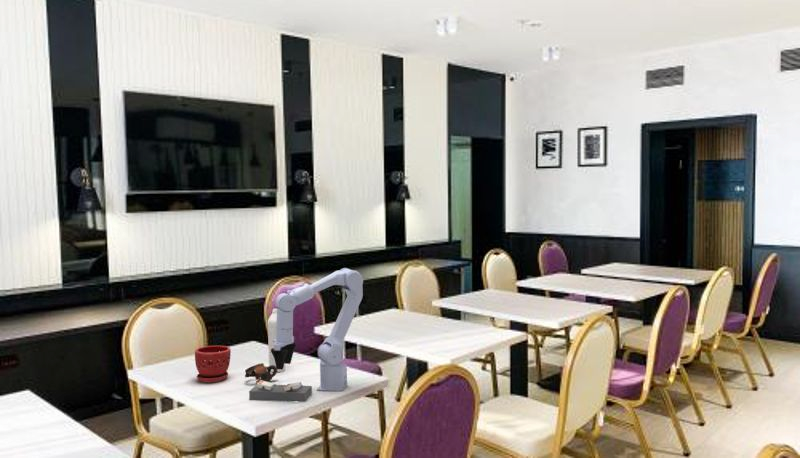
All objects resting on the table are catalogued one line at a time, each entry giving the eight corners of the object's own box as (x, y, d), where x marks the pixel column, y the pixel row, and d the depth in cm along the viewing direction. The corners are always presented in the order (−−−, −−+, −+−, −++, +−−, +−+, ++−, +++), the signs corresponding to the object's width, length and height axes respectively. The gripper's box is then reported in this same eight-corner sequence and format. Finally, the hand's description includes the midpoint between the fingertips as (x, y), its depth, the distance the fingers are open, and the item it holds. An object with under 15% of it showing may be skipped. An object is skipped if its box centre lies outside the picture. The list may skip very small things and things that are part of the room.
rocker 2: (301, 385, 218) (300, 381, 218) (298, 388, 214) (297, 384, 214) (288, 387, 219) (287, 383, 219) (284, 391, 215) (283, 387, 215)
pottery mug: (250, 389, 229) (242, 368, 231) (249, 393, 238) (242, 373, 240) (281, 377, 234) (274, 356, 236) (280, 381, 242) (272, 361, 244)
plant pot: (221, 385, 234) (220, 353, 233) (189, 383, 236) (188, 352, 235) (237, 374, 246) (236, 344, 246) (206, 373, 249) (205, 343, 248)
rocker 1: (273, 387, 219) (274, 383, 219) (269, 390, 216) (270, 386, 216) (260, 384, 220) (261, 380, 220) (256, 387, 217) (257, 383, 217)
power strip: (312, 394, 221) (311, 385, 221) (304, 401, 213) (304, 392, 213) (258, 392, 225) (258, 383, 224) (249, 399, 217) (249, 390, 216)
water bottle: (276, 373, 247) (274, 311, 245) (265, 370, 251) (263, 309, 249) (293, 368, 254) (291, 307, 252) (282, 365, 258) (280, 305, 256)
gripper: (281, 323, 227) (280, 360, 228) (265, 331, 213) (265, 370, 214) (299, 324, 226) (298, 361, 227) (285, 332, 212) (284, 372, 212)
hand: (283, 366), depth 220 cm, fingers open, 7 cm apart
